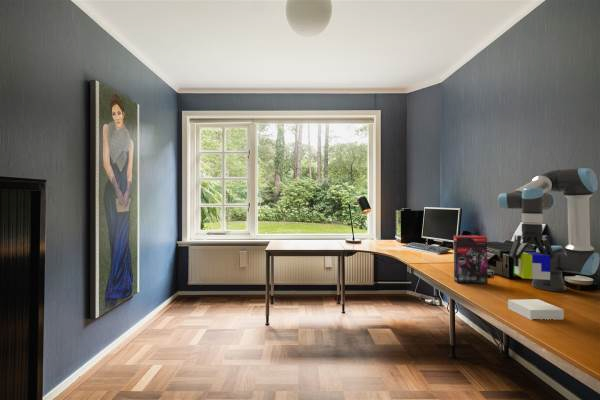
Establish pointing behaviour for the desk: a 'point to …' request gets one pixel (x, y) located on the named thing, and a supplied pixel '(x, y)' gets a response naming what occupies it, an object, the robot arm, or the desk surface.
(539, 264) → the puzzle toy
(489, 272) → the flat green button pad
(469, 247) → the graphics card box
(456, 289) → the desk surface
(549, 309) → the plinth
